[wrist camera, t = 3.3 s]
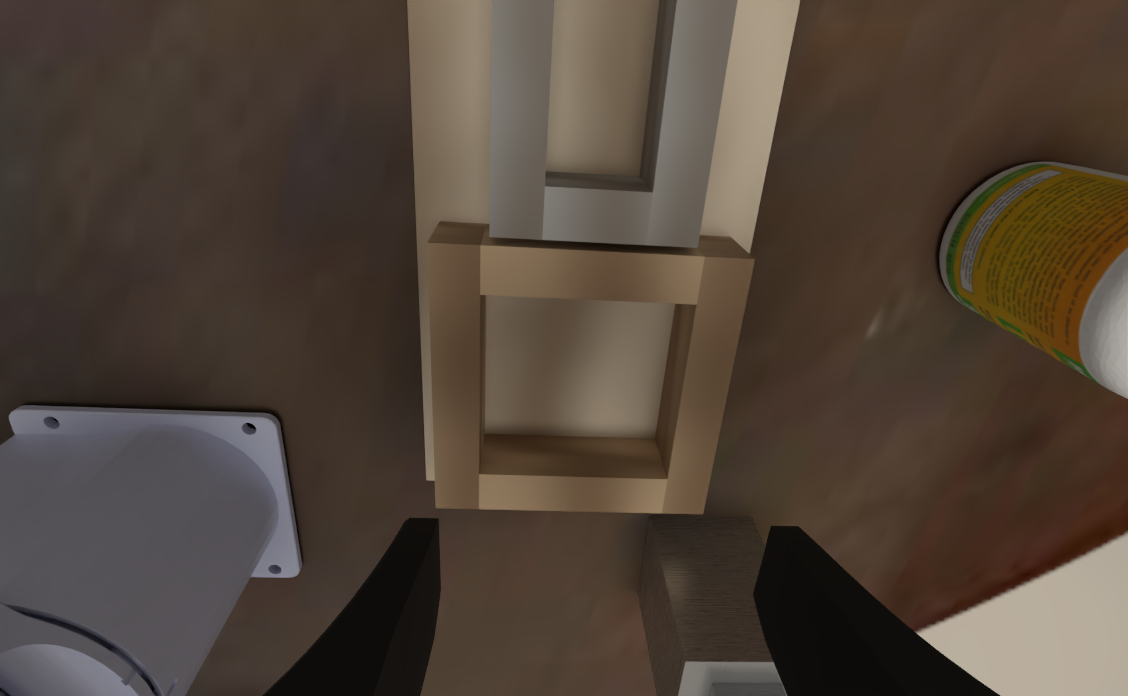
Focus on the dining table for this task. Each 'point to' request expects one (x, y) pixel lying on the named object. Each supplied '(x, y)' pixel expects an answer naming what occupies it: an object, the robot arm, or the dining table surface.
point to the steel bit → (705, 608)
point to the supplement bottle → (1048, 263)
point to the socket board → (586, 240)
